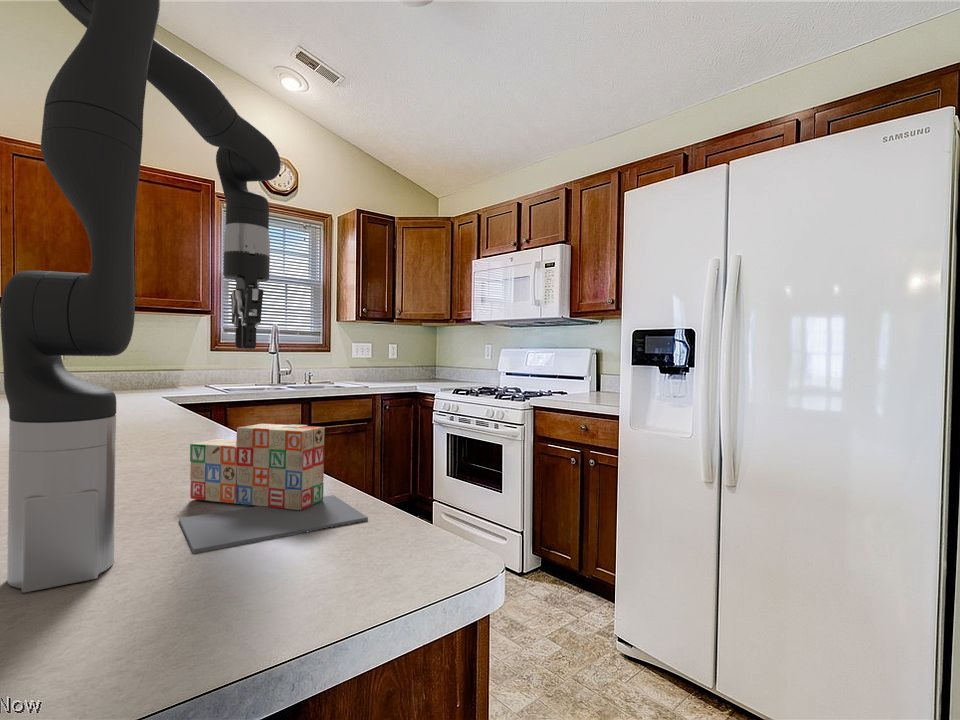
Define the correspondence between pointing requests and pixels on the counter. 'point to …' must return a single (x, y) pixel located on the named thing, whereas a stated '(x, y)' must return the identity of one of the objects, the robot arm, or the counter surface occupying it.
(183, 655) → the counter surface
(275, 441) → the stack of blocks
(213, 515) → the mat
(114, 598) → the counter surface
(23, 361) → the robot arm
